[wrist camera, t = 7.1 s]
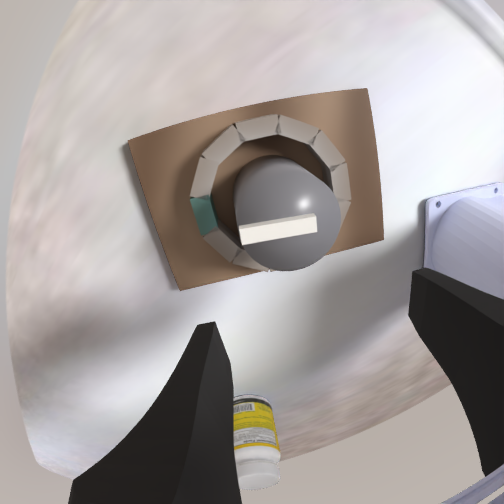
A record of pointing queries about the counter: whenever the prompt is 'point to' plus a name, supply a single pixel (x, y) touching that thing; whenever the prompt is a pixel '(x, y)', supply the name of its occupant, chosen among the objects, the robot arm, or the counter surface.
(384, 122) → the counter surface
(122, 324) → the counter surface
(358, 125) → the hub plate
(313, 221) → the knob
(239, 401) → the supplement bottle
